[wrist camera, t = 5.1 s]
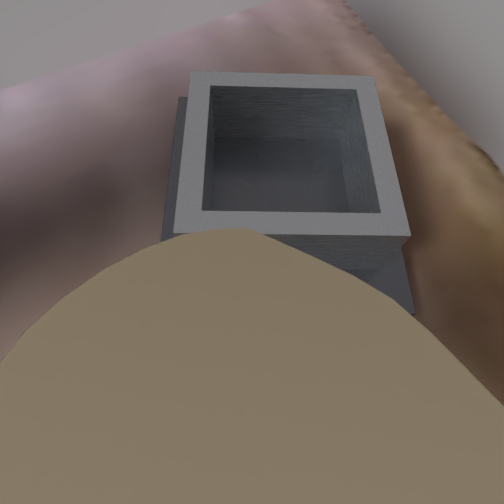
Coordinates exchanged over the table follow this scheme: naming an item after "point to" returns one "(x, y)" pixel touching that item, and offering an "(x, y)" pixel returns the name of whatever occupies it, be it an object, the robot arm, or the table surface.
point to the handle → (240, 389)
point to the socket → (292, 170)
